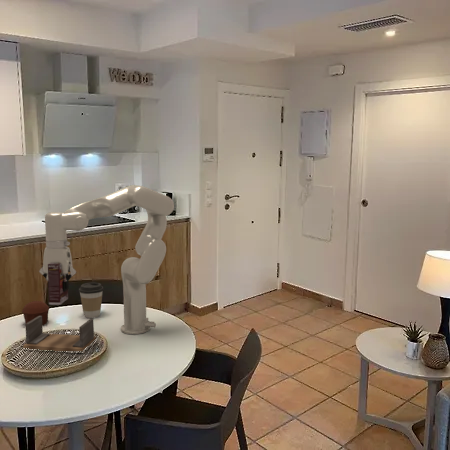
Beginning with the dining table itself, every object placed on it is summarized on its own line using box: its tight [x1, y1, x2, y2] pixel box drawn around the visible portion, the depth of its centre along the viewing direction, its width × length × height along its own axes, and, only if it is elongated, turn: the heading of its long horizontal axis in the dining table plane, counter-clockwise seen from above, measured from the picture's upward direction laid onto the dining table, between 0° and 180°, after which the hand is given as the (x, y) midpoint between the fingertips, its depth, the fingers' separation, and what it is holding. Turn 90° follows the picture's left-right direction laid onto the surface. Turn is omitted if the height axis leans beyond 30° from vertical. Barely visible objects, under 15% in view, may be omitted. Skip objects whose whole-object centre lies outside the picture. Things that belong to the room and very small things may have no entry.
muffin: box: [21, 300, 50, 327], centre depth 211 cm, size 12×11×10 cm
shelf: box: [23, 316, 98, 351], centre depth 186 cm, size 24×13×10 cm, turn 82°
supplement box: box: [47, 263, 69, 306], centre depth 183 cm, size 9×5×16 cm, turn 178°
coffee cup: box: [78, 282, 105, 319], centre depth 221 cm, size 11×11×15 cm
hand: (58, 290), depth 184 cm, fingers closed on supplement box, 5 cm apart
